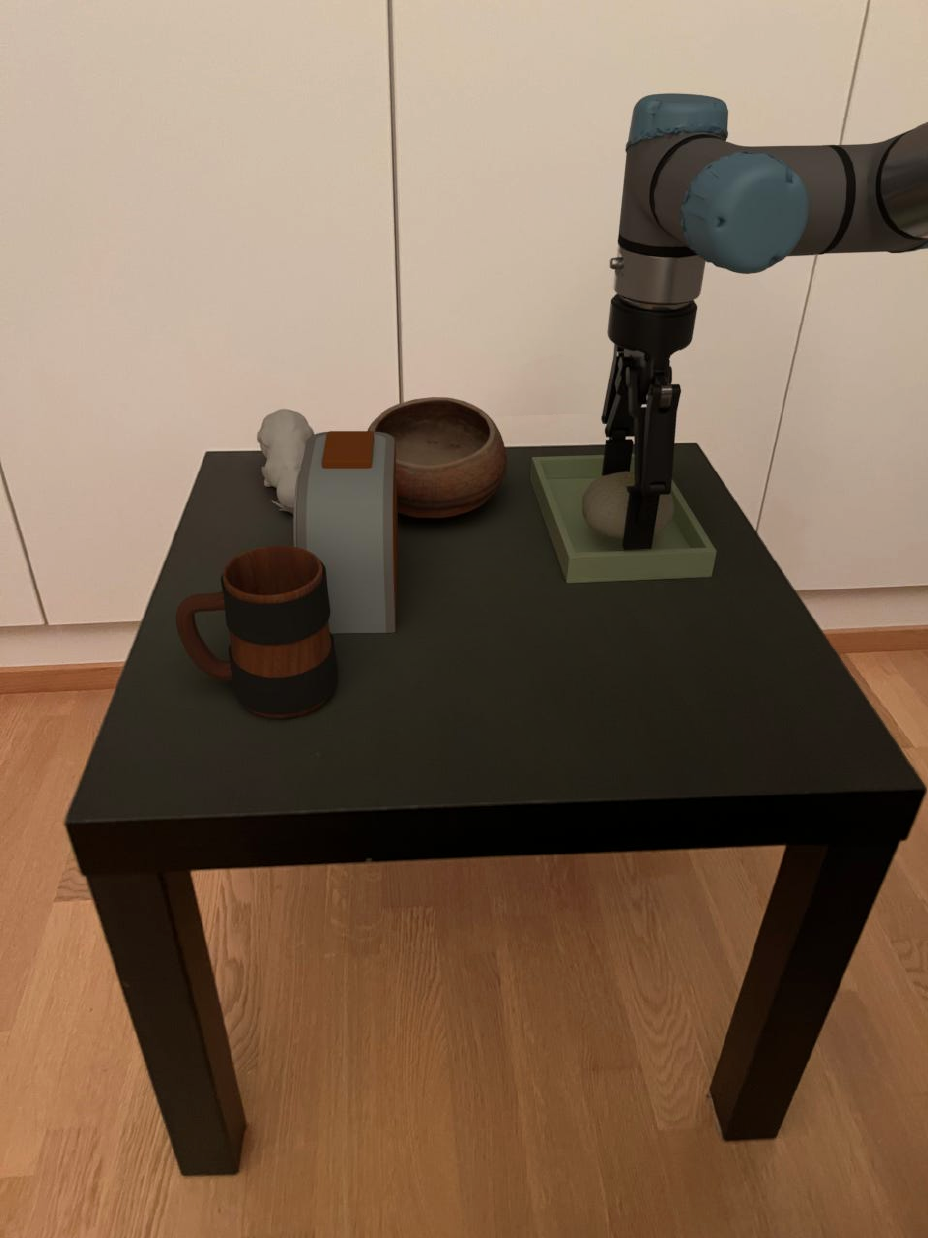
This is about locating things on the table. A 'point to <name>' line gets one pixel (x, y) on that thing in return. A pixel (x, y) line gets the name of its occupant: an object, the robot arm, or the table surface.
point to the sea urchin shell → (617, 505)
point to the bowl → (443, 455)
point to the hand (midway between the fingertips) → (624, 521)
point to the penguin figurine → (283, 452)
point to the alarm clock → (351, 525)
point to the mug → (269, 631)
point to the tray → (603, 556)
